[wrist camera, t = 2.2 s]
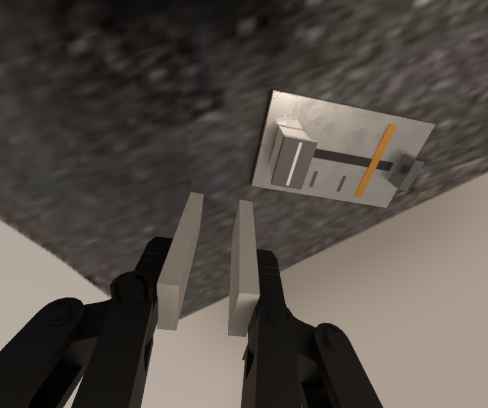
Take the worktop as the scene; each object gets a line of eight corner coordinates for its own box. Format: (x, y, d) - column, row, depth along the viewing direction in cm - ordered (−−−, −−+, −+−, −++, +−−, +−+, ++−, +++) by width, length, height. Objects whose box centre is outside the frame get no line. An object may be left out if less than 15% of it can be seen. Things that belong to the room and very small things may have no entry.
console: (272, 89, 28) (276, 93, 24) (427, 121, 30) (450, 129, 26) (251, 180, 34) (252, 194, 30) (381, 202, 36) (395, 216, 33)
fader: (277, 123, 28) (285, 136, 23) (305, 129, 28) (318, 142, 24) (267, 166, 31) (271, 185, 26) (292, 170, 31) (301, 190, 26)
